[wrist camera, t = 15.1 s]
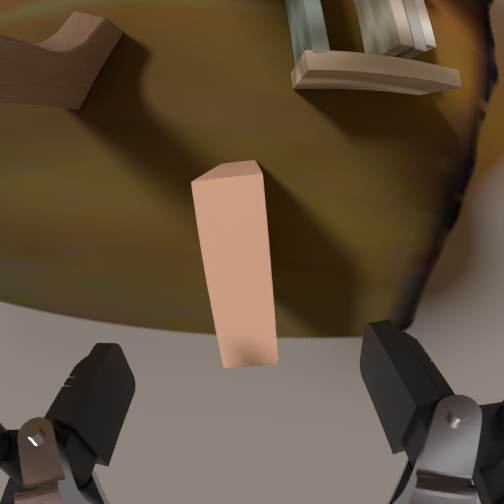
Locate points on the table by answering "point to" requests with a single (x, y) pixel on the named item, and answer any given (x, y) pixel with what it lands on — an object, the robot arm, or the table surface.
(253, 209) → the pink rectangular block
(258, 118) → the table surface
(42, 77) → the wooden block
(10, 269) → the table surface
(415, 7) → the offcut rack
